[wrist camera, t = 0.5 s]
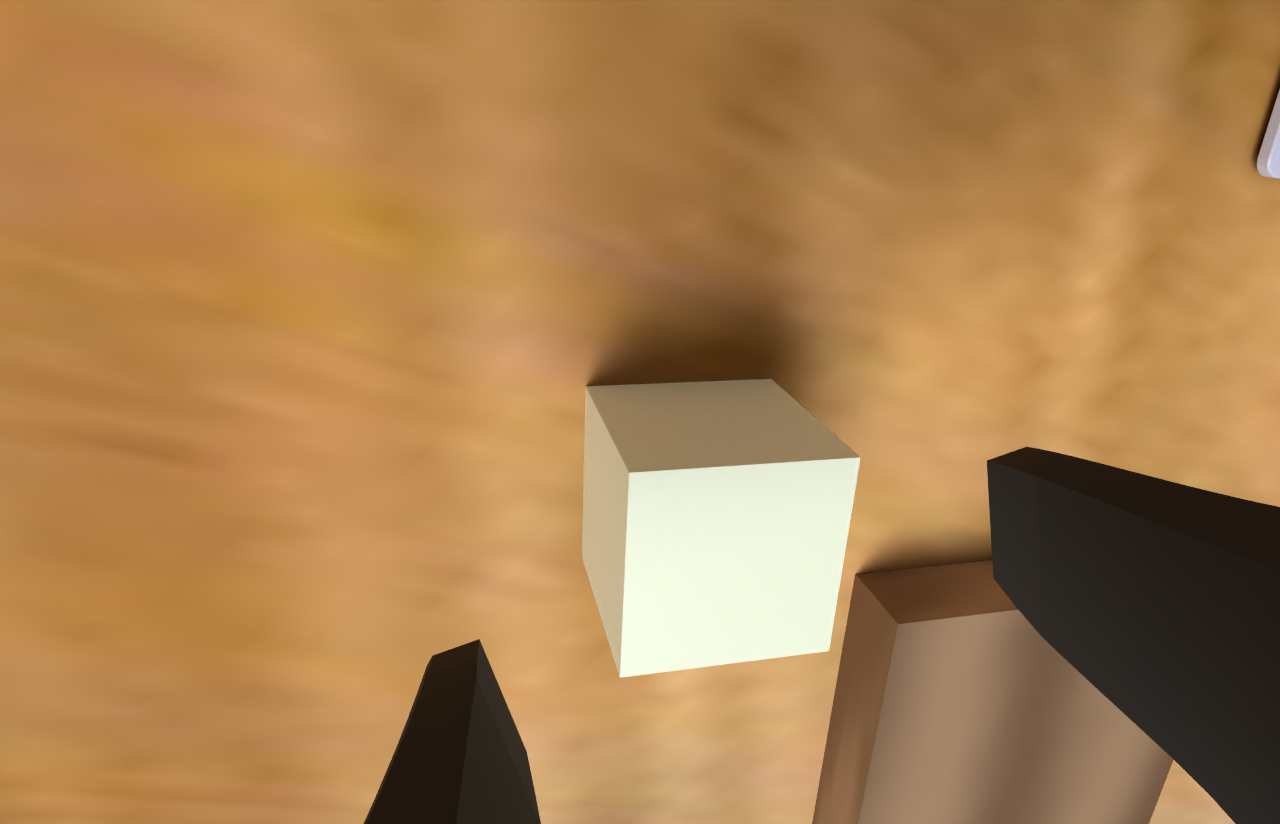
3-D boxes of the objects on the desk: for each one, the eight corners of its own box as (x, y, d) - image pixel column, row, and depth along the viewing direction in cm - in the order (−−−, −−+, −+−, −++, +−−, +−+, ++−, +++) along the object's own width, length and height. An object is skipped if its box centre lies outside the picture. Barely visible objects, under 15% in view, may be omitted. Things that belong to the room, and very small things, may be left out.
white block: (770, 377, 21) (860, 457, 17) (752, 540, 23) (829, 651, 19) (584, 385, 20) (629, 472, 16) (581, 555, 22) (620, 677, 18)
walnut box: (1162, 533, 28) (1241, 582, 25) (1076, 793, 32) (1135, 857, 30) (847, 565, 25) (898, 624, 22) (801, 844, 29) (838, 921, 27)
